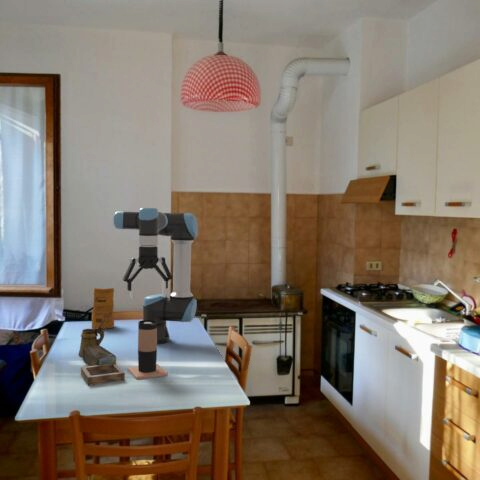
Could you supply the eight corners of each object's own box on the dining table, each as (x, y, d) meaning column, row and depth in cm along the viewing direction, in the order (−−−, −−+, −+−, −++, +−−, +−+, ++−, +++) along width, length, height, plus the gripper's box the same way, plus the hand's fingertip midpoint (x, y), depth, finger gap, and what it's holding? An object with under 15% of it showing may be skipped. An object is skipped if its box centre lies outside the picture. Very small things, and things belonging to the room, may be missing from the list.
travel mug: (138, 367, 221) (139, 319, 220) (157, 367, 222) (157, 319, 220) (136, 373, 214) (137, 323, 212) (156, 372, 214) (156, 324, 213)
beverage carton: (98, 372, 217) (98, 356, 216) (81, 361, 232) (82, 346, 232) (116, 369, 221) (116, 353, 221) (99, 358, 237) (99, 343, 237)
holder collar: (115, 370, 220) (115, 363, 219) (124, 380, 207) (124, 372, 207) (80, 374, 213) (80, 367, 213) (88, 385, 201) (88, 377, 201)
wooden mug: (107, 357, 238) (107, 317, 237) (76, 357, 237) (76, 317, 236) (110, 351, 247) (111, 313, 246) (81, 351, 246) (81, 313, 245)
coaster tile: (157, 366, 226) (157, 363, 226) (167, 375, 215) (167, 372, 215) (127, 369, 220) (127, 367, 220) (136, 379, 209) (136, 376, 209)
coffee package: (92, 325, 300) (92, 286, 298) (115, 325, 301) (115, 286, 300) (89, 329, 290) (90, 289, 289) (113, 329, 291) (113, 289, 290)
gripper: (173, 244, 225) (173, 294, 226) (115, 245, 213) (115, 298, 215) (180, 246, 218) (179, 297, 220) (120, 247, 206) (120, 301, 208)
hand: (147, 297), depth 217 cm, fingers open, 13 cm apart
